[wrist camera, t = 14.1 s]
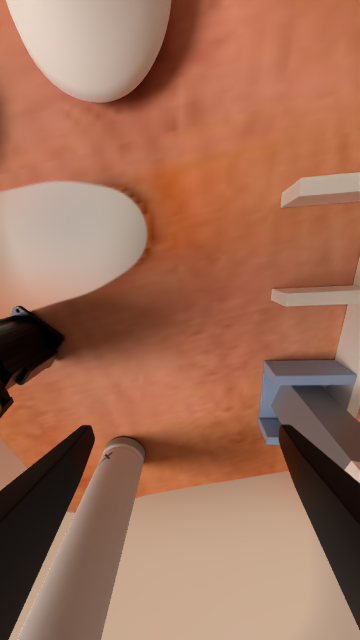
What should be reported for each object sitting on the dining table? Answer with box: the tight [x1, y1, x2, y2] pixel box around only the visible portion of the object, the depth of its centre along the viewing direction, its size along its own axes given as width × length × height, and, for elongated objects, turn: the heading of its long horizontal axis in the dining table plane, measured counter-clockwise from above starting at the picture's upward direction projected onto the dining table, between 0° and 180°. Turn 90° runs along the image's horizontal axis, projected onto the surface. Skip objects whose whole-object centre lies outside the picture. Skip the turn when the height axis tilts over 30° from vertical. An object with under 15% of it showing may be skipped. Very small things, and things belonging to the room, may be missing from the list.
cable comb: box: [258, 172, 360, 445], centre depth 18 cm, size 27×9×3 cm, turn 3°
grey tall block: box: [271, 385, 360, 483], centre depth 16 cm, size 4×4×12 cm
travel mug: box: [17, 437, 145, 640], centre depth 18 cm, size 6×7×20 cm
